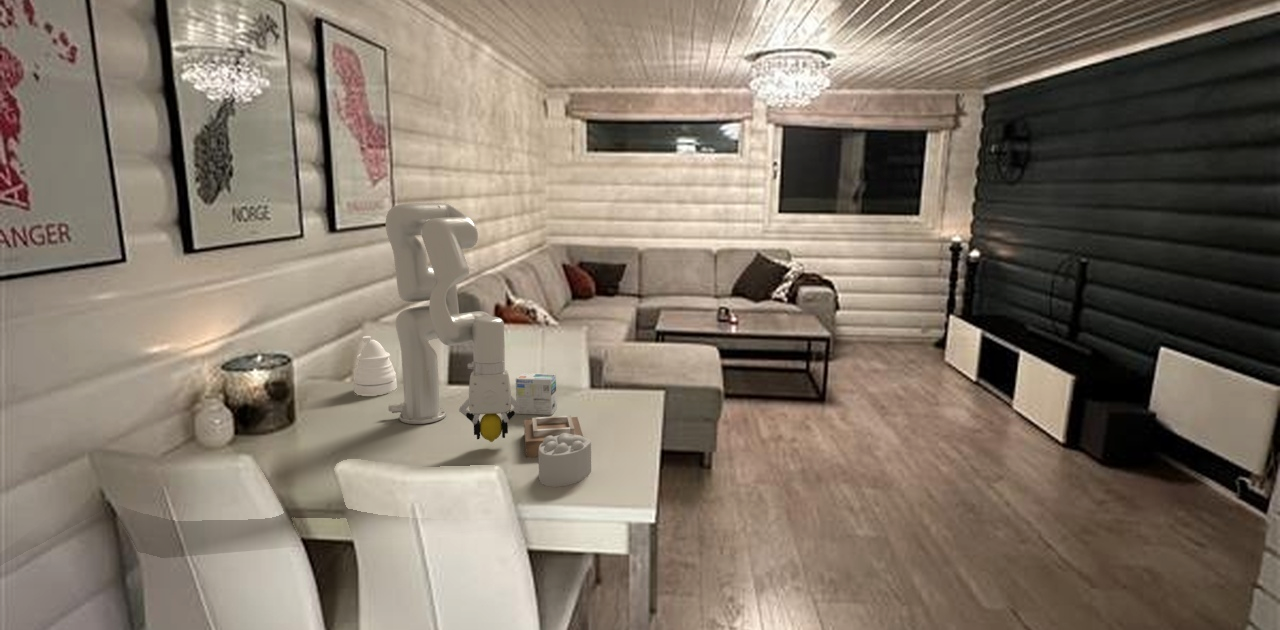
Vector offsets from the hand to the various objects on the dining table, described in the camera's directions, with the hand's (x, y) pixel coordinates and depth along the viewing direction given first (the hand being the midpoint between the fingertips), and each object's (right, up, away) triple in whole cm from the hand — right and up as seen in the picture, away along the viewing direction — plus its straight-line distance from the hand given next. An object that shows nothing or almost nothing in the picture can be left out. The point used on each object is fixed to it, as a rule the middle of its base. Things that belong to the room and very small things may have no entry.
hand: (491, 436), depth 173 cm
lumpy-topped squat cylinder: (+20, -6, -16) cm, 26 cm away
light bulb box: (+7, +2, +28) cm, 29 cm away
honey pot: (-47, +6, +48) cm, 68 cm away
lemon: (0, -2, 0) cm, 2 cm away
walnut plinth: (+15, -2, +3) cm, 16 cm away
